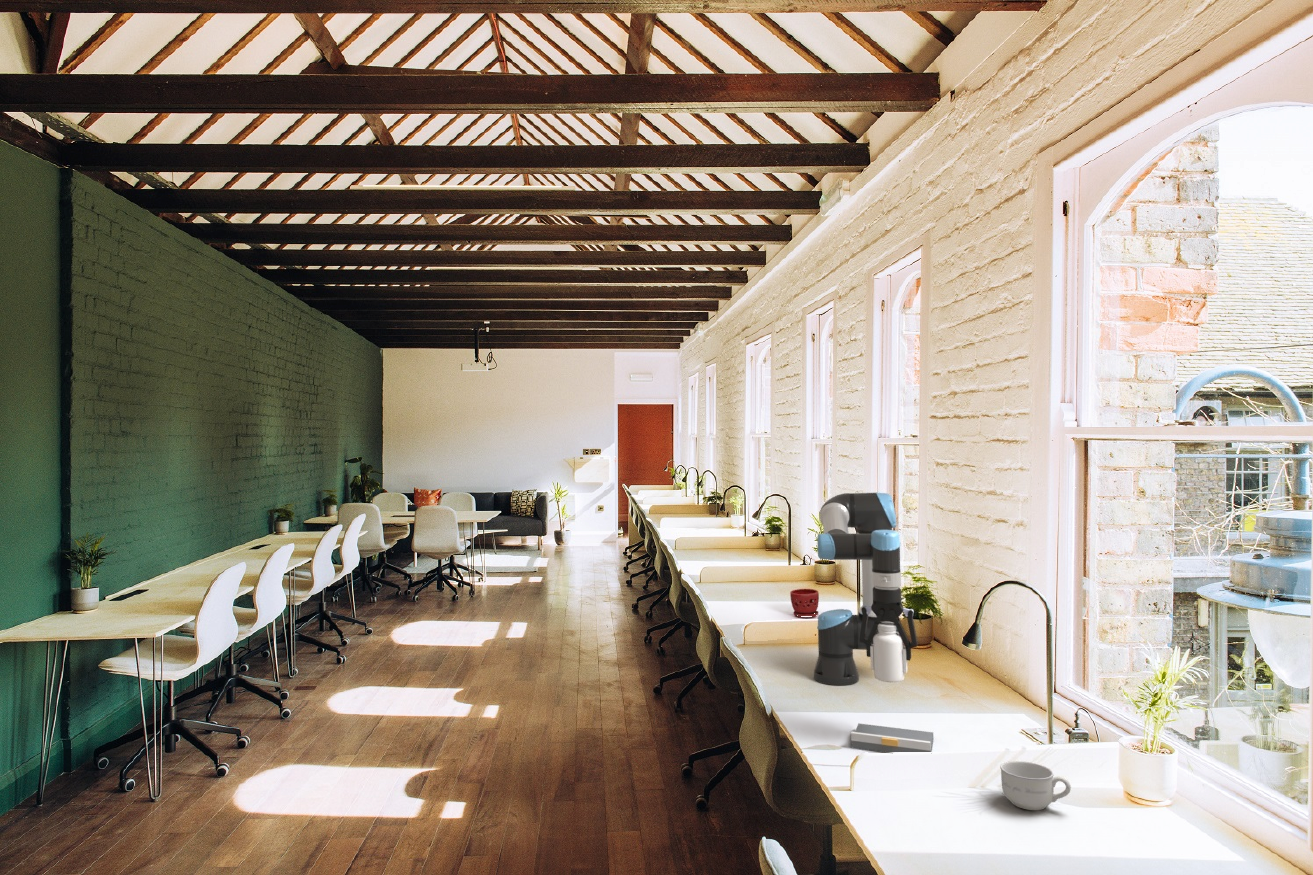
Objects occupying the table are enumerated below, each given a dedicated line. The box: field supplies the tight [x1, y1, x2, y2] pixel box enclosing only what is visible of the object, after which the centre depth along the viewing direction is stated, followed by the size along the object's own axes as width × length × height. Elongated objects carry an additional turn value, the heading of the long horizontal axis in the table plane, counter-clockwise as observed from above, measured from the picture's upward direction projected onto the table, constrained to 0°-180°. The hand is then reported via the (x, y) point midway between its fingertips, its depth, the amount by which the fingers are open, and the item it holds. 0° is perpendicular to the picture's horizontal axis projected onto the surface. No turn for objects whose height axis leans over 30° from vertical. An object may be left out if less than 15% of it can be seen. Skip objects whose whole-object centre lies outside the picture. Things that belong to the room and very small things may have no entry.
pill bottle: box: [873, 622, 905, 683], centre depth 205 cm, size 8×8×15 cm
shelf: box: [850, 722, 934, 753], centre depth 203 cm, size 14×20×4 cm
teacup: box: [999, 760, 1072, 811], centre depth 167 cm, size 14×11×8 cm
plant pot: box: [789, 588, 820, 619], centre depth 353 cm, size 13×13×12 cm
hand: (889, 670), depth 205 cm, fingers closed on pill bottle, 8 cm apart
